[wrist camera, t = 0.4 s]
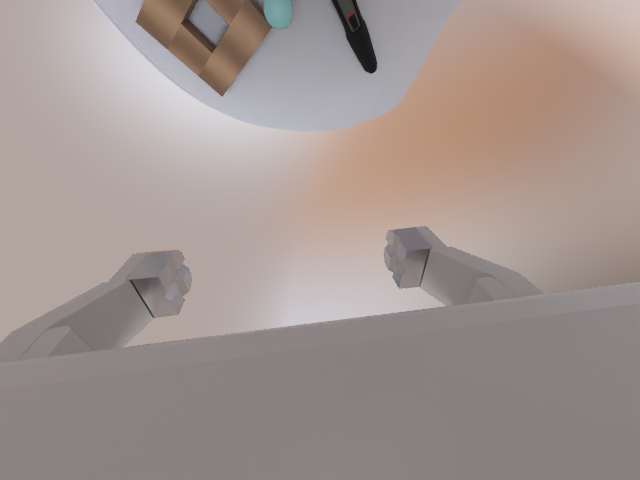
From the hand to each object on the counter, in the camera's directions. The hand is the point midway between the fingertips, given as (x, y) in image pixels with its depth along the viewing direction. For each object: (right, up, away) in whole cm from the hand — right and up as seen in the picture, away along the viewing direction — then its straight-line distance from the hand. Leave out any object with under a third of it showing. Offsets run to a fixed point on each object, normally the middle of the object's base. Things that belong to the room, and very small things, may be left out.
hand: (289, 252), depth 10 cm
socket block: (-17, +36, +29) cm, 50 cm away
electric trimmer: (+7, +38, +31) cm, 50 cm away
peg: (-5, +39, +28) cm, 48 cm away
